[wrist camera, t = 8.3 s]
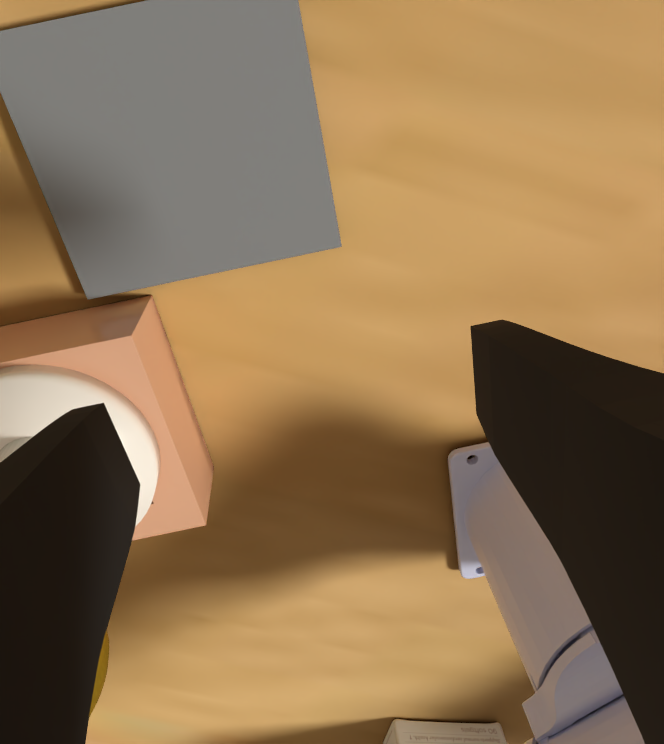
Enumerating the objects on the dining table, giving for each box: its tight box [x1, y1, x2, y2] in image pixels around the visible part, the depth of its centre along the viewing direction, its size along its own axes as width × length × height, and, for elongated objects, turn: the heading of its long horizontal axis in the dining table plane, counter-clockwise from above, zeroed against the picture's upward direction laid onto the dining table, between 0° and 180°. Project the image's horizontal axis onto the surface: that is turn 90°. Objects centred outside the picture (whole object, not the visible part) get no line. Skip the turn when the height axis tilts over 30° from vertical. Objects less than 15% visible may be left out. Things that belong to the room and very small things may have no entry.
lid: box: [0, 364, 161, 526], centre depth 17 cm, size 7×7×6 cm
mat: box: [0, 0, 342, 299], centre depth 18 cm, size 9×8×1 cm
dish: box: [0, 295, 214, 541], centre depth 21 cm, size 8×8×4 cm
